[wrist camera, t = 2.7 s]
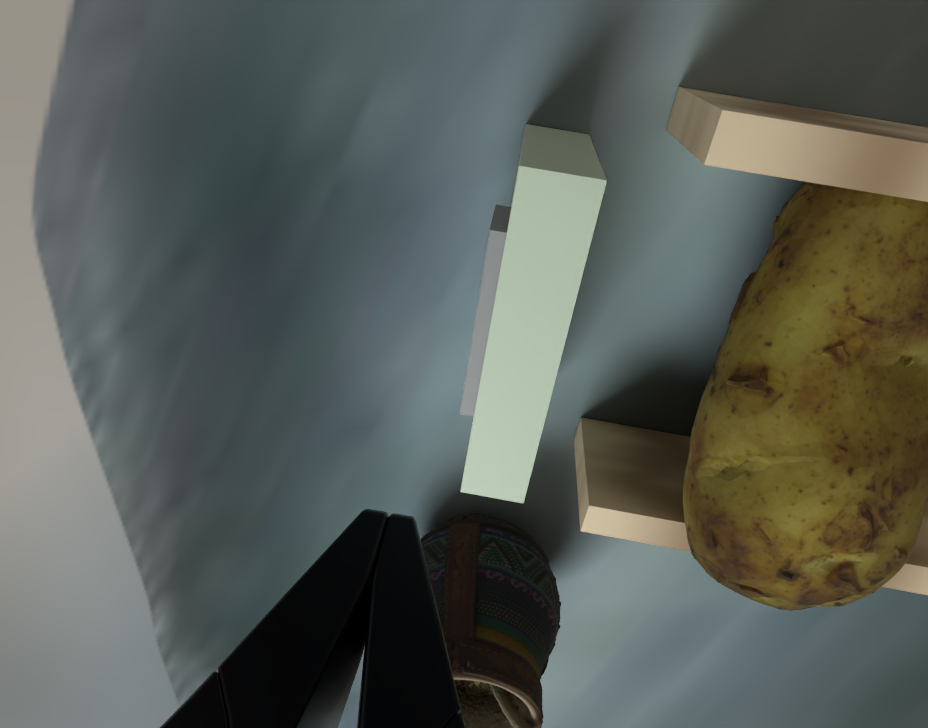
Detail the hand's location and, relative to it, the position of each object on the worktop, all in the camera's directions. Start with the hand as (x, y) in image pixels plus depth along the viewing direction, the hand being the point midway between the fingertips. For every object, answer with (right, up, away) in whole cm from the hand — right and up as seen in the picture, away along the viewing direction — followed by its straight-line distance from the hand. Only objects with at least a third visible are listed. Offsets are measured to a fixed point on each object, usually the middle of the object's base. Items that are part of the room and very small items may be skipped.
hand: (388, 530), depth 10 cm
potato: (+13, +4, +11) cm, 17 cm away
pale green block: (+3, +6, +11) cm, 13 cm away
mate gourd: (+2, -6, +19) cm, 20 cm away
